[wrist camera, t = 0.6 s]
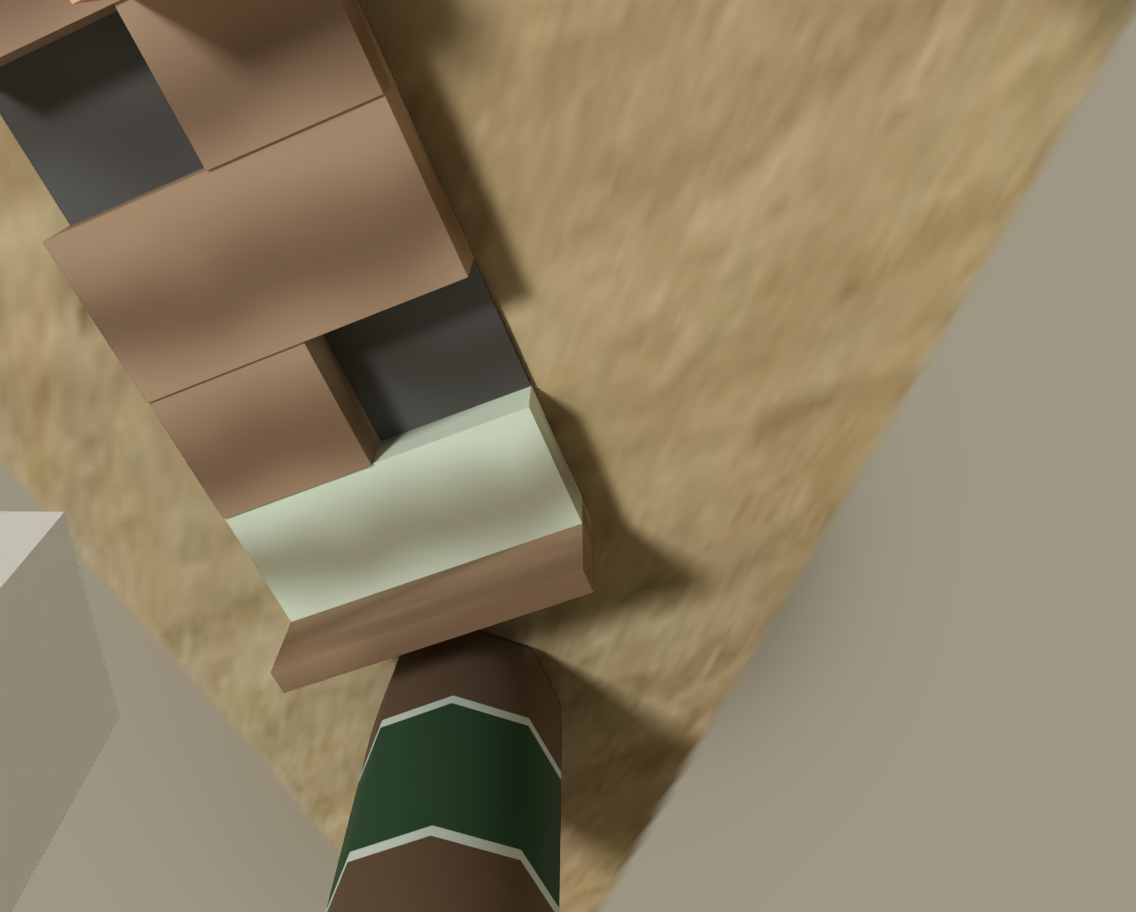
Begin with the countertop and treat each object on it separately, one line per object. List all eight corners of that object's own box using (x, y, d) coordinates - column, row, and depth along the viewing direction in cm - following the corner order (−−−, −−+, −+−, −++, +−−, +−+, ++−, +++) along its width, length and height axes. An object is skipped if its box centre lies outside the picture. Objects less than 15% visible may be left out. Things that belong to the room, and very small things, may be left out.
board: (-125, -92, 29) (-250, -97, 25) (232, -279, 27) (165, -320, 23) (315, 610, 41) (284, 692, 36) (591, 517, 39) (593, 592, 34)
